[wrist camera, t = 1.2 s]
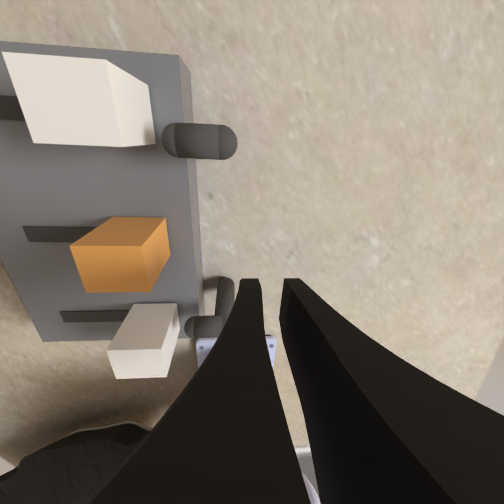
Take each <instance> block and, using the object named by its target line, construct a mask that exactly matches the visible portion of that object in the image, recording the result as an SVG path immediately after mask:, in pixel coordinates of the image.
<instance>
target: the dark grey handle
mask: <svg viewBox="0 0 504 504" xmlns="http://www.w3.org/2000/svg"><path fill="white" fill-rule="evenodd" d="M161 142H162V145H163V147H164V149H165V150H166V152H167V153H169V154H170V155H171V156H173V157H176V158H192V159H216V160H225V159H228V158H230V157H231V156H233V154H234V153H235V151H236V149H237V138H236V135H235V133H234V132H233V131H232V130H231V129H230V128H229V127H227V126H225V125H213V124H195V123H177V122H176V123H170V124H168V125H166V126H165V127H164V129H163V131H162V133H161ZM233 305H234V282H233V281H232V280H231V279H230V278H222V279H221V280H220V281H219V282H218V287H217V297H216V306H215V316H192V317H190V318H189V319H187V321H186V322H185V324H184V331H185V334H186V335H187V336H188V337H190V338H218V337H219V335H220V333H221V331H222V329H223V327H224V325H225V323H226V321H227V319H228V317H229V315H230V312H231V310H232V307H233Z"/></svg>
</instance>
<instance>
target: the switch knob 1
mask: <svg viewBox="0 0 504 504" xmlns="http://www.w3.org/2000/svg"><path fill="white" fill-rule="evenodd" d="M2 55H3V57H4V60H5V63H6V66H7V69H8V72H9V75H10V77H11V80H12V83H13V86H14V89H15V92H16V95H17V97H18V100H19V103H20V106H21V109H22V112H23V115H24V117H25V120H26V123H27V126H28V129H29V132H30V135H31V137H32V140H33V143H44V144H66V145H88V146H110V147H128V146H139V145H150V144H156V142H155V134H154V126H153V119H152V111H151V104H150V96H149V88H148V85H147V84H145V83H143V82H142V81H140V80H139V79H137V78H135V77H134V76H132V75H130V74H129V73H127V72H125V71H124V70H122V69H120V68H119V67H117V66H115V65H114V64H112V63H110V62H109V61H107V60H105V59H92V58H78V57H65V56H52V55H39V54H26V53H13V52H2Z"/></svg>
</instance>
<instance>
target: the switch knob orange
mask: <svg viewBox="0 0 504 504" xmlns="http://www.w3.org/2000/svg"><path fill="white" fill-rule="evenodd" d="M70 249H71V252H72V255H73V257H74V260H75V263H76V266H77V269H78V272H79V275H80V277H81V280H82V283H83V286H84V289H85V292H86V293H107V292H151V290H152V288H153V286H154V284H155V282H156V281H157V279H158V277H159V275H160V273H161V271H162V269H163V268H164V266H165V264H166V262H167V260H168V258H169V256H170V248H169V241H168V233H167V225H166V218H154V217H112V218H110V219H109V220H107V221H106V222H104V223H103V224H101V225H100V226H98V227H97V228H95V229H94V230H92V231H91V232H89V233H88V234H86V235H85V236H83V237H82V238H80V239H79V240H77V241H76V242H74V243H73V244H71V245H70Z"/></svg>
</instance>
